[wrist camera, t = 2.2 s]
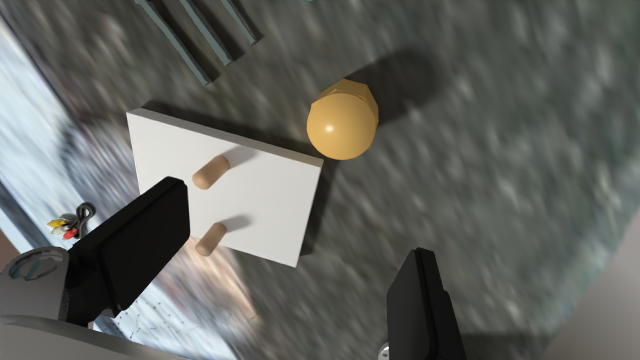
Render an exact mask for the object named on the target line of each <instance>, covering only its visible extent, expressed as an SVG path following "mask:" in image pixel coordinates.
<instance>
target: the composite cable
mask: <svg viewBox="0 0 640 360" xmlns="http://www.w3.org/2000/svg"><path fill="white" fill-rule="evenodd" d="M84 208H86V209H88V211H89V215H88V216H86V217H85V218H84ZM76 214H77V218H73V219H71V220H62V219H58V220H52V221H51V222H50V223H47V225H50V226H51V227H55V228H54V229H53V231H52V232H51V234H61V233H63V232H66V231H67V232H66V233H65V234H64V235H63V237H64V238H63V240H65V239H66V240H67V239H70V238H72V237H74V238H75V239H80V238H83V237H84V236H85V223H86V221H87V220H88V219H89V218H91V217H92V216H93V215H94V209H93V207H92V206H91V205H90V204H88V203H82V204H81V205H80V206H78V207H77V209H76ZM78 229H79V232H80V234H79V233H78V232H77V230H78Z"/></svg>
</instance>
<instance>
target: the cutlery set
mask: <svg viewBox="0 0 640 360" xmlns="http://www.w3.org/2000/svg"><path fill="white" fill-rule="evenodd" d="M134 1H135V3H136V4H140V5H141V6H142V7H143V8H144V10H145V11H146V12H147V13H148V14H149V16H150V17H151V18H152V19H153V20H154V21H155V23H156V24H157V25H158V26H159V27H160V28H161V30H162V31H163V32H164V33H165V35H166V36H167V37H168V39H169V40H170V41H171V42H172V44H173V45H174V47H175V48H176V49H177V51H178V52H179V53H180V55H181V56H182V57H183V59H184V60H185V62H186V63H187V65H188V66H189V67H190V69H191V70H192V71H193V72H194V74H195V75H196V76H197V78H198V79H199V80H200V82H201V83H202V84H203V86H205V85H208V84H209V83H210V82H211V79H210V78H209V77H208V76H207V75H206V73H205V72H204V71H203V70H202V68H201V67H200V66H199V65H198V63H197V62H196V61H195V59H194V58H193V56H192V55H191V54H190V52H189V51H188V49H187V48H186V47H185V46H184V44H183V43H182V42H181V40H180V39H179V38H178V36H177V35H176V34H175V32H174V31H173V30H172V29H171V27H170V26H169V25H168V24H167V23H166V21H165V20H164V19H163V18H162V17H161V16H160V15H159V13H158V12H157V11H156V10H155V9H154V7H153V6H152V5H151V4H150V3H149V1H148V0H134ZM180 1H181V3H182V4H183V6H184V7H185V9H186V10H187V12H188V13H189V15H190V17H191V18H192V20H193V21H194V22H195V24H196V25H197V27H198V28H199V30H200V31H201V32H202V34H203V35H204V37H205V38H206V40H207V41H208V42H209V44H210V45H211V47H212V48H213V50H214V51H215V52H216V54H217V55H218V57H219V58H220V59H221V61H222V62H223V63H224V65H225V66H228V65H229V64H230V63H231V62H232V61H234V60H233V59H232V58H231V57H230V55H229V54H228V53H227V51H226V50H225V49H224V48H223V46H222V45H221V44H220V43H219V41H218V40H217V39H216V37H215V36H214V35H213V33H212V32H211V31H210V30H209V28H208V27H207V26H206V24H205V23H204V22H203V20H202V19H201V18H200V17H199V15H198V14H197V12H196V11H195V10H194V8H193V7H192V5H191V4H190V3H189V1H188V0H180ZM305 1H308V2H309V1H312V0H305ZM221 2H222V3H223V5H224V6H225V7H226V9H227V10H228V11H229V13H230V14H231V15H232V16H233V18H234V19H235V20H236V21H237V23H238V24H239V26H240V28H241V29H242V31H243V32H244V34H245V35H246V37H247V38H248V40H249V41H250V46H251V45H254V44H255V43H256V42H257V41H258V40H256V39H254V37H253V36H252V35H251V33H250V32H249V30H248V29H247V28H246V26H245V25H244V24H243V22H242V21H241V20H240V18H239V17H238V15H237V13H236V12H235V10H234V9H233V7H232V5H231V4H230V2H229V1H228V0H221Z"/></svg>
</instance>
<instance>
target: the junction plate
mask: <svg viewBox="0 0 640 360" xmlns="http://www.w3.org/2000/svg"><path fill="white" fill-rule="evenodd" d="M126 114H127V119H128V125H129V131H130V137H131V143H132V148H133V154H134V160H135V166H136V172H137V178H138V183H139V189H140V195H142V194H143V193H144V192H146V191H147V190H148V189H150V188H151V187H153V186H154V185H155V184H157V183H158V182H159V181H161V180H162V179H163V178H165V177H167V176H171V177H175V178H178V179H182V180H183V181H184V183H185V184H186V185H187V187H188V201H189V215H190V230H191V232H190V236H193V237H196V238H200V239H201V240H200V241H199V242H198V244H197V245H196V246H195V249H196V251H197V252H198V253H199V254H200V255H202V256H209V255H210V254H211V253H212V252H213V250H214V249H215V248H216V246H217V245H218V244H220V245H223V246H226V247H229V248H233V249H236V250H239V251H243V252H246V253H249V254H253V255H256V256H259V257H263V258H266V259H269V260H272V261H276V262H279V263H282V264H286V265H289V266H292V267H296V265H297V262H298V259H299V255H300V252H301V248H302V244H303V240H304V236H305V232H306V228H307V224H308V220H309V216H310V212H311V208H312V205H313V201H314V197H315V193H316V189H317V185H318V181H319V177H320V173H321V169H322V165H323V161H324V160H323V159H320V158H316V157H313V156H309V155H306V154H302V153H299V152H295V151H292V150H288V149H285V148H281V147H278V146H274V145H270V144H267V143H263V142H260V141H256V140H253V139H249V138H246V137H242V136H239V135H235V134H232V133H228V132H225V131H221V130H217V129H214V128H210V127H207V126H203V125H200V124H196V123H193V122H189V121H186V120H182V119H179V118H175V117H172V116H168V115H164V114H161V113H157V112H154V111H150V110H147V109H143V108H138V109H135V110H132V111H129V112H126Z"/></svg>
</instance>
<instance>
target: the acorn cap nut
mask: <svg viewBox="0 0 640 360" xmlns="http://www.w3.org/2000/svg"><path fill="white" fill-rule="evenodd" d="M378 123H379V120H378V105H377V103H376V102H375V100H374V98H373V96H372V94H371V92H370V90H369V88H368V86H367V84H362V83H358V82H354V81H351V80H347V79H344V78H342V79H341V80H340V81H338V82H336V83H335V84H333V85H332V86H330V87H328V88H327V89H325V90H324V91H322V92H321V93H320V95H319V96H318V97H317V98H316V99H315V101H314V102H313V103H312V106H311V111H310V114H309V117H308V121H307V131H308V135H309V138H310V140H311V142H312V144H313V145H314V147H315V148H316V149H317V150H318V151H319V152H321V153H322V154H323V155H325V156H327V157H330V158H333V159H338V160H346V159H351V158H354V157H357V156H359V155H360V154H362V153H363V152H364V151H365V150H367V149H368V148H370V145H371V143H372V141H373V138H374V135H375V130H376V128H377V125H378Z"/></svg>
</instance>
